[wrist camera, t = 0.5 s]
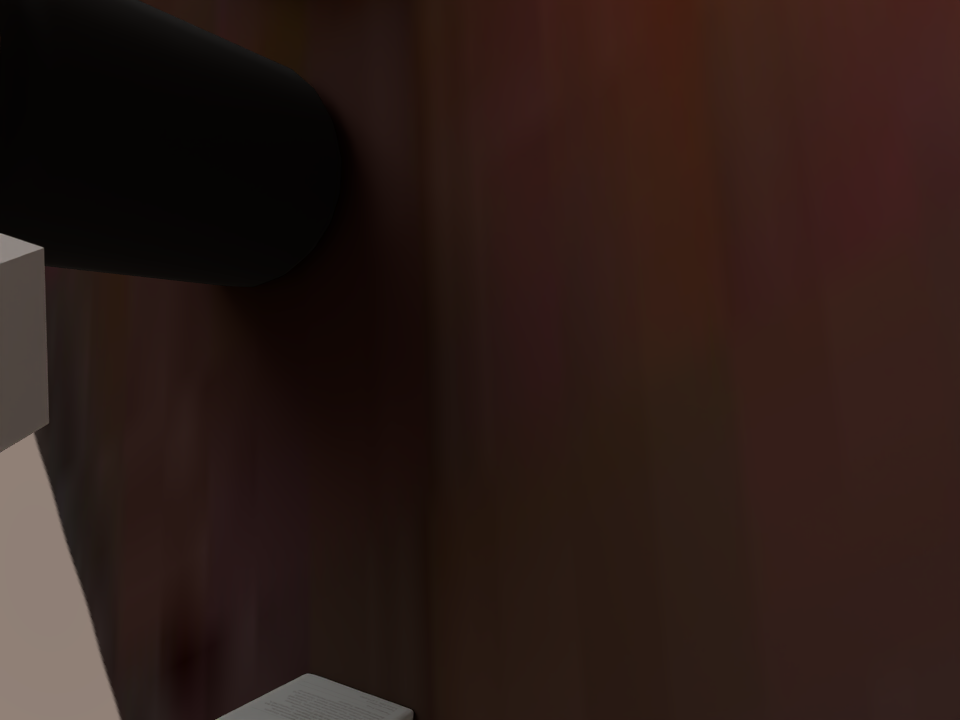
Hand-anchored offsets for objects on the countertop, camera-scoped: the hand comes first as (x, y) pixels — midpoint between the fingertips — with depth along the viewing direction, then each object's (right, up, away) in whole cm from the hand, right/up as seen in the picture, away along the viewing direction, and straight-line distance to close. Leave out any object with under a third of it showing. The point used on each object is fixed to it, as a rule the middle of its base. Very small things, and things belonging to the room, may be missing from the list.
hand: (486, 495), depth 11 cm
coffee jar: (-10, +10, +33) cm, 36 cm away
